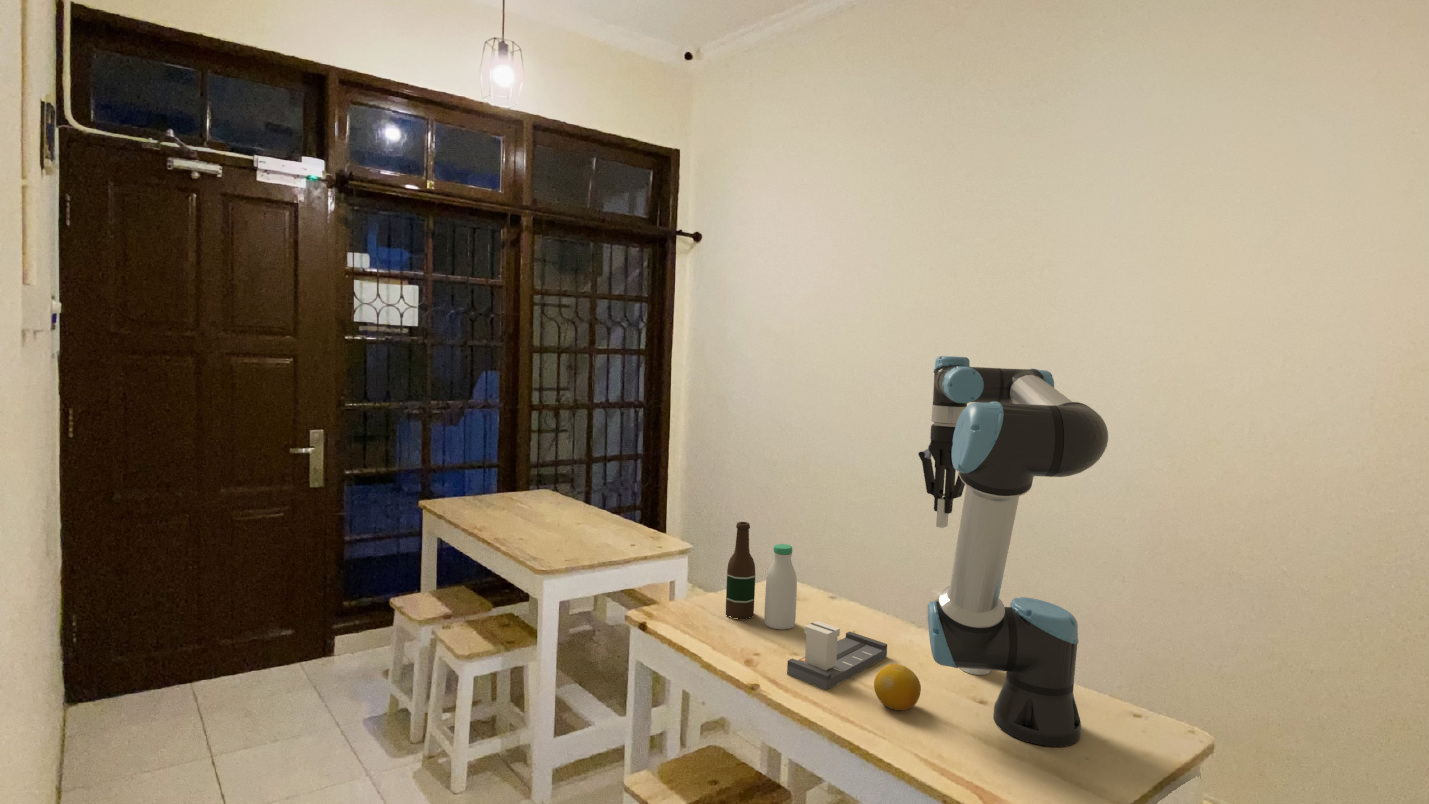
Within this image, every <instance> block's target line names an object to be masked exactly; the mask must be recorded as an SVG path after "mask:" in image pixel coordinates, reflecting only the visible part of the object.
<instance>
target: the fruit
mask: <svg viewBox="0 0 1429 804" xmlns="http://www.w3.org/2000/svg"><path fill="white" fill-rule="evenodd" d="M873 689H874V692H875V695H876V697H877V699H878V700H879V701H880V703H881V704H883V705H884V706H885V707H887V708H889V709H892V710H895V711H905V710H908V709H910V708H912V707H914V706H915V705H916V704H917V703H918V701H919V699H920V696H921V692H922V686H921V682H920V679H919V678H918V675H916V673H915V672H913V670H911V669H910V668H909V667H907V666H905V665H902V664H897V663H890V664H887V665H884V666H883V667H882V668H881V669H879V671H878V672H877V673H876V675H875V678H874V682H873Z"/></svg>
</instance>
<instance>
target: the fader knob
mask: <svg viewBox="0 0 1429 804" xmlns="http://www.w3.org/2000/svg"><path fill="white" fill-rule="evenodd" d="M803 633H804V634H805V635H806V637H805V655H804V657H805V663H807V664H809V665H812V666H815V667H817V668H820V669H822V670H825V671H826V670H828V669H830V668H831V667H833V666H835V665H836V658H837V641H838V640H839V639H838V638H839V637H840V636H841V635H840V634H841V628H839V627H837V626H835V625H834V626H833V625H831V624H827V623H825V622H823V621H819V620H816V621H814V622H810V623H809V624H807V625H804V632H803Z"/></svg>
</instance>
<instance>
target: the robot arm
mask: <svg viewBox="0 0 1429 804" xmlns="http://www.w3.org/2000/svg"><path fill="white" fill-rule="evenodd" d="M933 374H934V375H933V392H932V393H933V394H932V396H933V397H932V406H931V407H932V408H931V420H930V421H931V422H932V423H933V424H931V425H930V437H929V438H930V442H929V444H928V447H927V448H926V449H925V450H923V451H919V452H918V453H917V455H918V457H919V459H920V460H921V463H922V470H923V476H924V481H925V482H924V483H925V484H924V485H925V489H926V490H925V491H926V493H927V494H928V495H929V494H930V495H931V496H932V497H933V499H934V500H933V502H934V503H933V511H934V512H936V522H935V523H936V525H935V527H936V528H941V529H944V528H946V527H948V524H949V514H952V512H953V506H954V505H953V503H954V499H957V498H958V499H959V498H961V497H962V495H963V493H964V499H963V504H962V509H961V515H960V516H961V517H960V523H959V529H958V534H957V542H956V548H955V552H954V553H955V554H954V560H953V565H952V572H951V577H950V584H949V586H947V587H945V588H944V589H942V591H941V592H940V594H939V598H938V600H933V601H930V602H928V604H927V623H928V625H927V626H928V627H927V628H928V637H929V644H930V651H931V656H932V658H933V661H934V662H935V663H937V665H940V666H943V667H950V668H955V669H960V668H969V669H983V670H991V671H998V672H999V671H1000V672H1006V673H1005V674H1006V675H1005V676H1006V677H1005V681H1004V683H1003V685H1002V688H1001V690H1000V692H999V694H998V697H997V698H996V699H997V700H996V701H995V703H994V705H993V714H992V715H993V721H994V723H995V724H996V726H997V727H998V726H999V727H1000V728H1001V729H1000V728H999V729H1000V730H1002V731H1003V732H1004V731H1006V732H1007V733H1006V732H1005V733H1006V734H1008V735H1009V734H1010V735H1009V736H1011V737H1013V736H1014V737H1013V738H1015V737H1016V739H1018V740H1020V741H1024V742H1026V741H1028V742H1027V743H1029V742H1030V744H1033V743H1034V744H1033V745H1037V744H1038V746H1042V745H1048V746H1047V747H1051V746H1053V747H1054V746H1057V747H1056V748H1058V747H1059V748H1061V747H1060V746H1062V747H1067V746H1066V745H1069V746H1072V745H1074V744H1076V743H1078V742H1079V740H1080V739H1081V736H1082V735H1081V732H1082V722H1081V717H1080V714H1079V711H1078V710H1079V709H1078V706H1077V703H1076V699H1075V696H1074V687H1075V686H1074V684H1075V676H1076V673H1075V672H1076V664H1077V663H1076V661H1077V654H1078V653H1077V651H1078V644H1079V635H1078V634H1079V633H1078V632H1079V631H1078V629H1079V627H1078V621H1077V619H1076V617H1075V616H1074V615H1073V614H1072V613H1071V612H1070V611H1068V610H1067V609H1065V608H1063V607H1060V606H1059V605H1058V604H1057V605H1056V604H1054V603H1051V602H1050V601H1049V602H1048V601H1045V600H1041V599H1038V598H1032V597H1026V596H1021V597H1014V598H1012V600H1011V602H1010V603H1009V606H1005V604H1004V602H1003V600H1002V599H1001V598H1000V593H1001V589H1002V584H1003V578H1004V575H1005V569H1006V564H1007V559H1008V553H1009V548H1010V544H1011V540H1012V534H1013V530H1014V525H1015V521H1016V514H1017V509H1018V505H1019V500H1020V497H1021V496H1024V495H1026V494H1027V493H1029V491H1030V490H1031V489H1032V486H1033V481H1034V477H1048V478H1064V477H1071V476H1074V475H1077V474H1081V473H1083V472H1084V471H1086V470H1088V469H1090V468H1091V467H1092V466H1094V465H1095V464H1096V463H1097V462H1098V461H1099V460H1100V459H1101V458H1102V457H1103V455H1104V453H1105V451H1106V449H1107V447H1108V442H1109V431H1108V427H1107V424H1106V422H1105V421H1104V419H1103V417H1102V416H1101V415H1100V414H1099V413H1098V412H1097V411H1096V410H1095V409H1093V408H1092V407H1090V405H1087V404H1085V403H1082V402H1078V401H1072V400H1071V399H1069V398H1068V397H1067V396H1066V395H1064V394H1062V392H1060V391H1058V390H1057V389H1056V388H1055V381H1054V376H1053V374H1052V373H1051V372H1050V371H1048V370H1045V369H1037V368H1029V369H1028V368H1027V369H1026V368H1003V367H1001V368H1000V367H980V366H971V365H970V359H969V358H968V357H966V356H954V355H953V356H950V355H949V356H948V355H946V356H945V355H940V356H937V357H936V358H935V363H934V369H933ZM932 459H933V460H934V467H933V462H932ZM934 469H935V470H934ZM956 472H958V475H957V477H956ZM964 489H965V491H964ZM1075 742H1076V743H1075ZM1071 744H1072V745H1071Z"/></svg>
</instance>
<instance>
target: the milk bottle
mask: <svg viewBox="0 0 1429 804" xmlns="http://www.w3.org/2000/svg"><path fill="white" fill-rule="evenodd" d="M792 556H793V546H791V544H784V543H777V544H775V545H773V561H772V563H771V565H770V567H769V569H768V571H767V575H766V578H765V580H766V581H765V593H764V594H765V596H764V597H765V599H764V616H763V617H764V620H763V622H764V624H765V626H766V627H768V628H770V629H774V630H789V629H792V628H794V627H795V625H796V617H797V615H796V614H797V613H796V612H797V592H798V579H797V574H796V571H795V567H794V565H793V562H792Z"/></svg>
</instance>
